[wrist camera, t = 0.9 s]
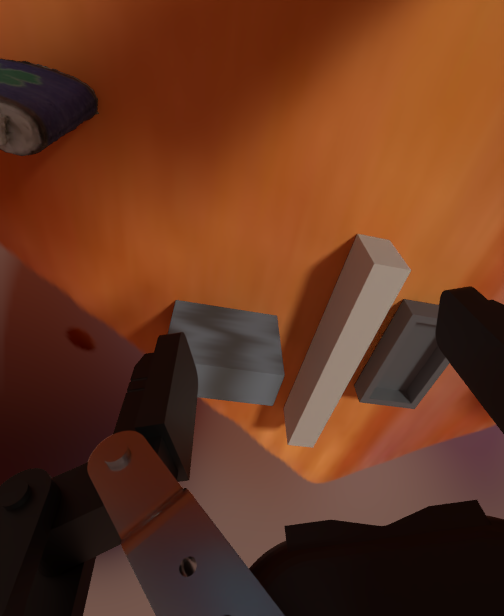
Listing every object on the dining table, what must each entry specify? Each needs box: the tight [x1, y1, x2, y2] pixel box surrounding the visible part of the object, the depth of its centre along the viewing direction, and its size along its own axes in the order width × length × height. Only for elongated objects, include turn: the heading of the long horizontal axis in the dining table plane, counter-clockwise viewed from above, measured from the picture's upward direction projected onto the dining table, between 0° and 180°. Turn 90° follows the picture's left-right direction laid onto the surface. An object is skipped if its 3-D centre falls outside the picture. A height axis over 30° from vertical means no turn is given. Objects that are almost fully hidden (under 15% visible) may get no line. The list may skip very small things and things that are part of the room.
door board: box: [284, 234, 411, 447], centre depth 37 cm, size 24×3×5 cm, turn 168°
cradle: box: [354, 299, 450, 409], centre depth 39 cm, size 13×7×2 cm, turn 168°
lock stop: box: [168, 300, 285, 406], centre depth 34 cm, size 10×4×8 cm, turn 78°
